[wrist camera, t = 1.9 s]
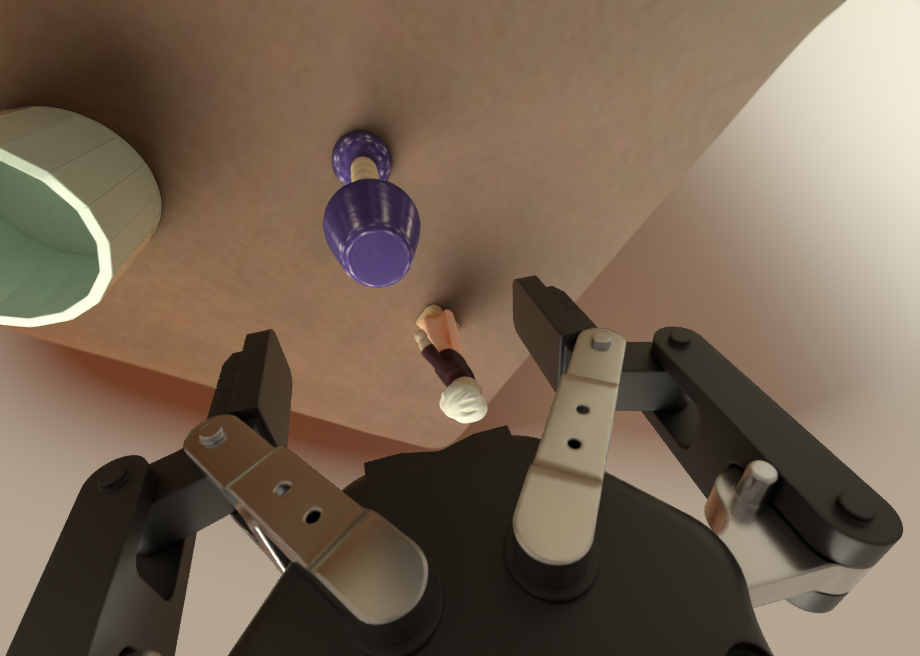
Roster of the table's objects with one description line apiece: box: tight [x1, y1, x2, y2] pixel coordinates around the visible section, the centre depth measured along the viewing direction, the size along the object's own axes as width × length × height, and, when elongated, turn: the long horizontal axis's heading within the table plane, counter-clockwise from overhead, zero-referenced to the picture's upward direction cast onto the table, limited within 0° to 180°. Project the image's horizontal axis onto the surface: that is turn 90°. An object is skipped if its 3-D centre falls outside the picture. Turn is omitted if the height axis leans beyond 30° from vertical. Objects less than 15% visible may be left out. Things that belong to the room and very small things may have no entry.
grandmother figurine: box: [415, 305, 487, 423], centre depth 36 cm, size 8×4×13 cm, turn 49°
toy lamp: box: [323, 131, 420, 288], centre depth 25 cm, size 5×5×17 cm
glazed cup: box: [0, 106, 162, 327], centre depth 25 cm, size 10×10×9 cm
